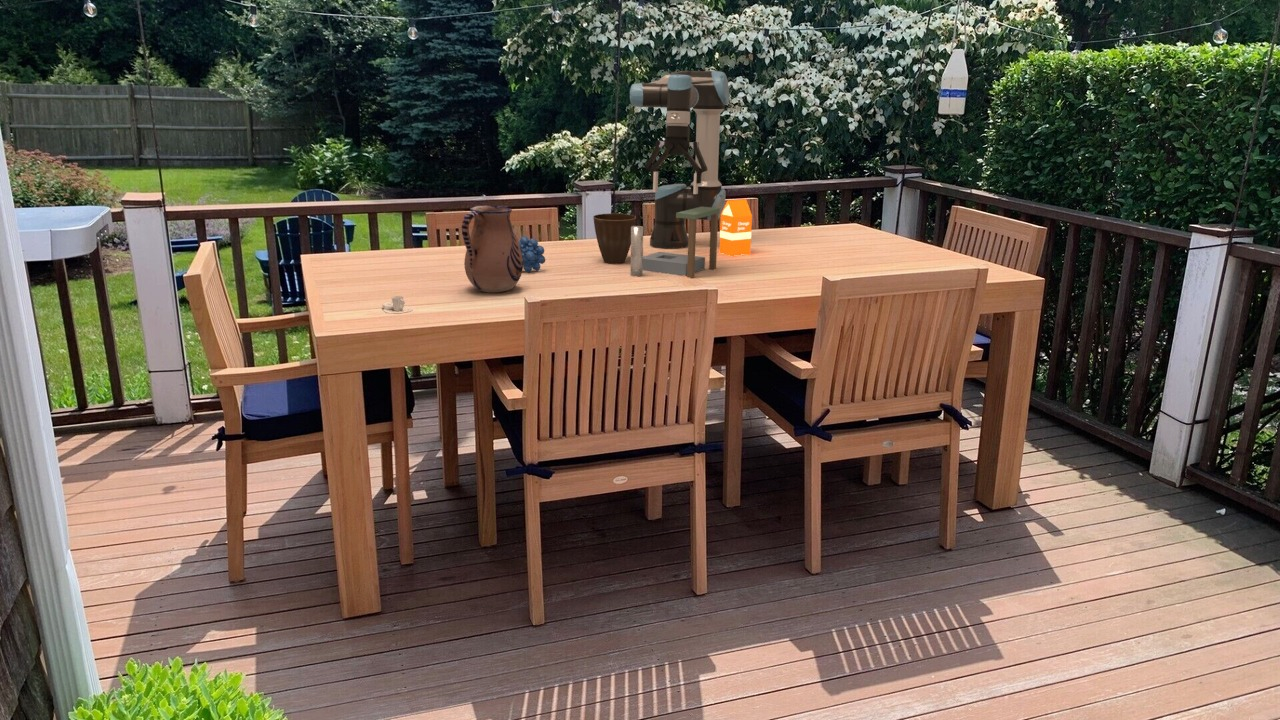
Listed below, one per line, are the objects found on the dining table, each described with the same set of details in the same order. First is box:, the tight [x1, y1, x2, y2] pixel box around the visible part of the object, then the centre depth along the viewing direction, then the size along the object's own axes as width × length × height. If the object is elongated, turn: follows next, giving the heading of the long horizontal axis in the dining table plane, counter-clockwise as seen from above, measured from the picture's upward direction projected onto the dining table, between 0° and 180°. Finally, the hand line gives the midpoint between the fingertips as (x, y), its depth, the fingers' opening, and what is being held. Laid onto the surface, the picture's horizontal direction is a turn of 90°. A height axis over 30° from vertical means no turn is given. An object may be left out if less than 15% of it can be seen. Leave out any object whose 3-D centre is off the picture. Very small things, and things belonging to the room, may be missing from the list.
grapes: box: [518, 235, 547, 273], centre depth 305 cm, size 12×7×12 cm, turn 110°
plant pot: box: [592, 213, 637, 265], centre depth 323 cm, size 15×15×16 cm
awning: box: [676, 207, 720, 279], centre depth 306 cm, size 7×18×21 cm, turn 149°
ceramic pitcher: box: [461, 204, 524, 294], centre depth 276 cm, size 18×21×25 cm
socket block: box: [643, 251, 706, 277], centre depth 313 cm, size 18×14×4 cm
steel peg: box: [630, 225, 644, 277], centre depth 302 cm, size 4×4×16 cm
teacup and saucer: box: [381, 295, 413, 314], centre depth 256 cm, size 9×8×4 cm
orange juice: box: [718, 198, 753, 257], centre depth 340 cm, size 8×9×20 cm
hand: (675, 193), depth 299 cm, fingers open, 13 cm apart
